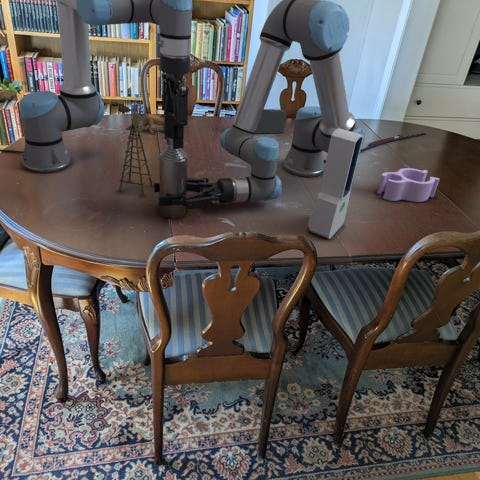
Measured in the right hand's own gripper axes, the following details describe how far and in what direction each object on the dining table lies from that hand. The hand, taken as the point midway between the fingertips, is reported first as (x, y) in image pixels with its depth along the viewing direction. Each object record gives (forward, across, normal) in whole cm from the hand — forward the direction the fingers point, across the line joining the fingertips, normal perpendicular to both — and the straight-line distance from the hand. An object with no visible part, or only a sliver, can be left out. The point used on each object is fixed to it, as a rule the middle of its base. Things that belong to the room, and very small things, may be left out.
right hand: (156, 194), depth 135 cm
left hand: (-5, 0, +16) cm, 16 cm away
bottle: (-5, 0, -6) cm, 8 cm away
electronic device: (-48, -16, -6) cm, 51 cm away
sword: (-113, +50, -6) cm, 124 cm away
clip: (-88, +1, -6) cm, 88 cm away
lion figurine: (-11, +67, -6) cm, 69 cm away
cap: (-5, 0, +17) cm, 18 cm away
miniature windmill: (+4, +16, -6) cm, 18 cm away
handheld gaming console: (-55, +63, -6) cm, 84 cm away
